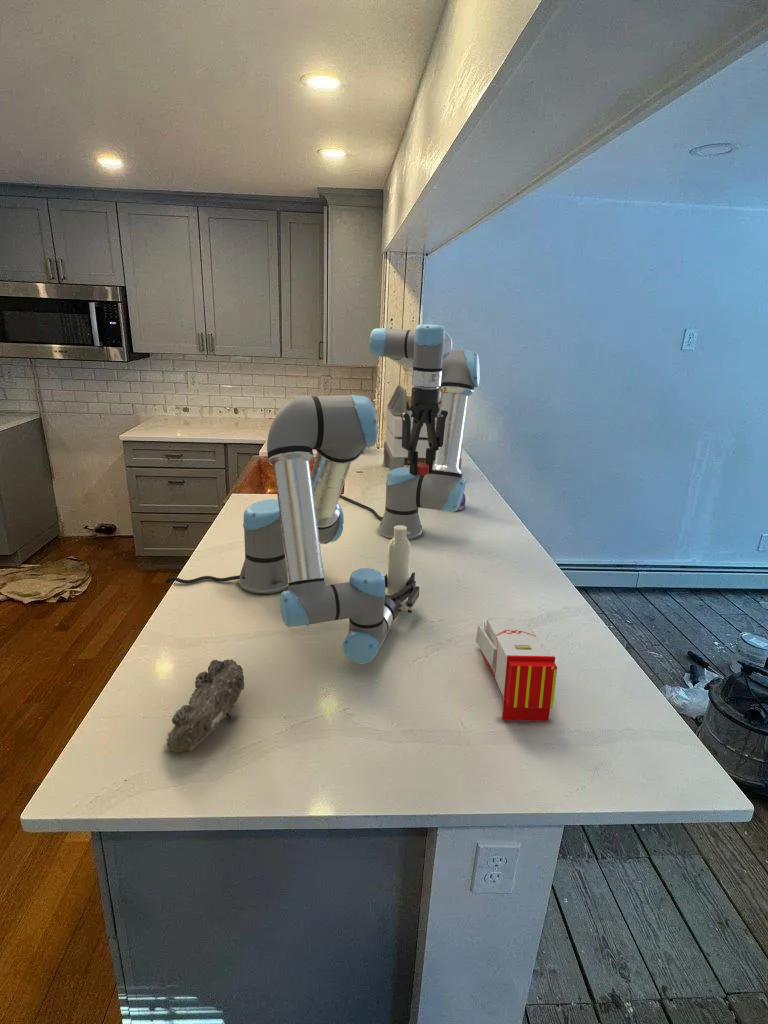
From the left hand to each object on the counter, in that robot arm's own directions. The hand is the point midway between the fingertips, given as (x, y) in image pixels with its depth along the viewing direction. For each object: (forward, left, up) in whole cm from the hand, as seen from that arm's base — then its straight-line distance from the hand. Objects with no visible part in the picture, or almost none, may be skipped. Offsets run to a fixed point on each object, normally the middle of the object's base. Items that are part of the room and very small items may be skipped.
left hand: (402, 575), depth 155 cm
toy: (+31, -28, -6) cm, 43 cm away
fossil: (-22, -59, -6) cm, 64 cm away
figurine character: (-62, +154, -6) cm, 166 cm away
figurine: (+2, +80, -6) cm, 80 cm away
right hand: (+1, +11, +26) cm, 28 cm away
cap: (+1, +11, +28) cm, 30 cm away
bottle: (0, -5, -6) cm, 8 cm away
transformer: (-22, +124, -6) cm, 126 cm away
